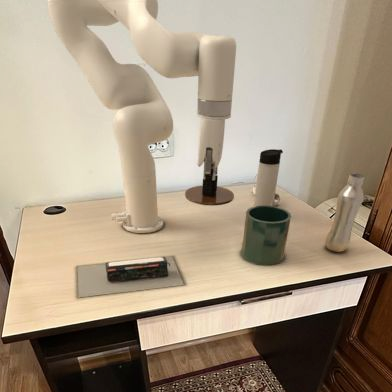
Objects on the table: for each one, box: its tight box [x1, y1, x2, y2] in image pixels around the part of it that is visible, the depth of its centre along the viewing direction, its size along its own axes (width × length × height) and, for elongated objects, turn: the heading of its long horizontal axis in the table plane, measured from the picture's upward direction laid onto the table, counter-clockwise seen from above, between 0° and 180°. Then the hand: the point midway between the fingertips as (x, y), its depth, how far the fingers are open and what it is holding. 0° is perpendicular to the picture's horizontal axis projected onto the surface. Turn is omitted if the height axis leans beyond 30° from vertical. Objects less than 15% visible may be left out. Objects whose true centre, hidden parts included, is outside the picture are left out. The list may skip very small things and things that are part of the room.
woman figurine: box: [248, 185, 281, 207], centre depth 132 cm, size 12×4×18 cm
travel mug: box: [253, 148, 284, 207], centre depth 115 cm, size 6×7×20 cm
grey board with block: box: [77, 256, 185, 298], centre depth 90 cm, size 14×25×4 cm, turn 104°
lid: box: [184, 175, 235, 207], centre depth 92 cm, size 13×13×6 cm
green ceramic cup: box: [241, 206, 292, 266], centre depth 97 cm, size 12×12×12 cm
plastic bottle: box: [325, 173, 365, 253], centre depth 98 cm, size 6×7×20 cm
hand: (209, 193), depth 93 cm, fingers closed on lid, 2 cm apart
